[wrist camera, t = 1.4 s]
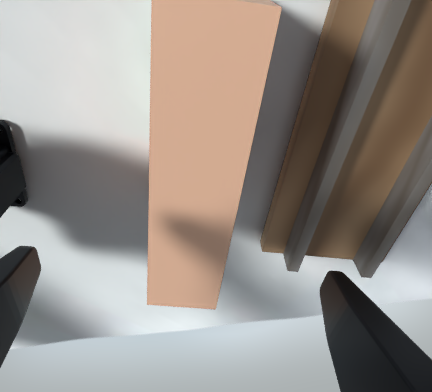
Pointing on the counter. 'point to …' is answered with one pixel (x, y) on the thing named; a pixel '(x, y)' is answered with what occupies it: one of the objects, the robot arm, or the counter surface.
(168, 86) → the door panel
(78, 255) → the counter surface
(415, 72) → the door track
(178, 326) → the counter surface
